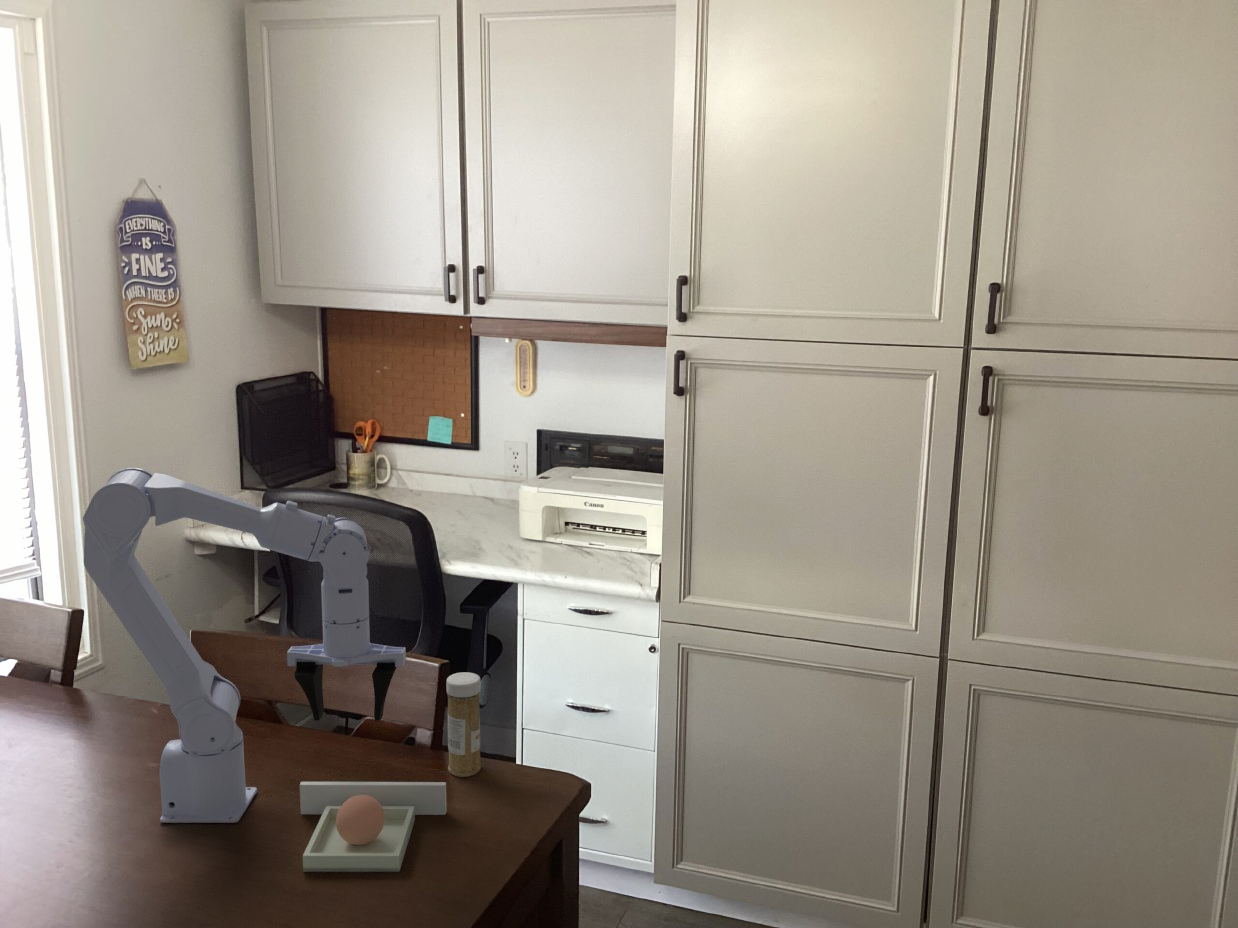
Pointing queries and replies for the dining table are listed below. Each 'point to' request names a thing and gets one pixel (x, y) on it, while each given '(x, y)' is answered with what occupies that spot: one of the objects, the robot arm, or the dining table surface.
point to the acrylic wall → (375, 795)
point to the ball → (360, 819)
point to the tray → (375, 856)
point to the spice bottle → (463, 723)
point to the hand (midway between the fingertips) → (348, 717)
